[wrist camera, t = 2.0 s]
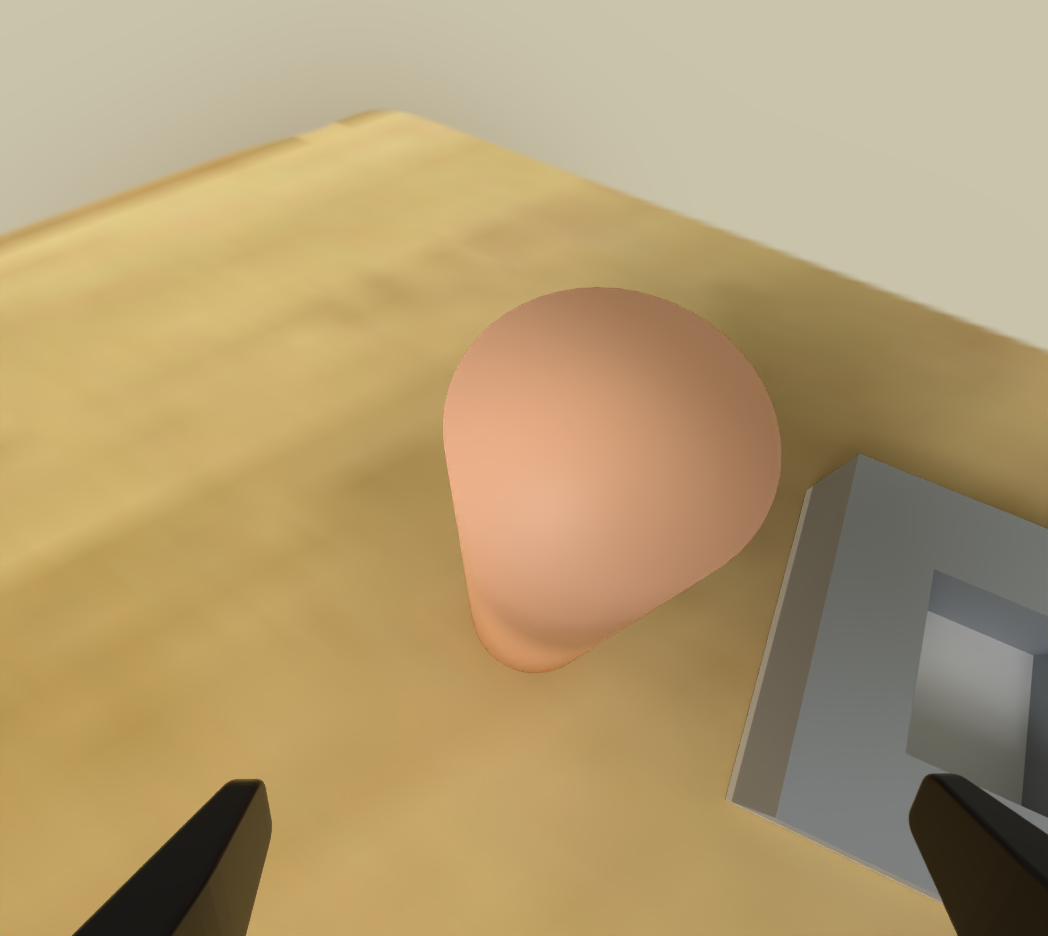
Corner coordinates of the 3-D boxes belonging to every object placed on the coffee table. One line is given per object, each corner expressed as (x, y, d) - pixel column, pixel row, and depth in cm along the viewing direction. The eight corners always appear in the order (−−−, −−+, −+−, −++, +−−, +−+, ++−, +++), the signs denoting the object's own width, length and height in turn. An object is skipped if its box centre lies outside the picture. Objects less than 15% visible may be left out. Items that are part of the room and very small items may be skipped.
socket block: (1097, 978, 17) (1237, 1038, 14) (725, 799, 18) (775, 817, 15) (1108, 614, 22) (1218, 597, 18) (806, 490, 23) (859, 453, 20)
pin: (503, 696, 19) (533, 659, 6) (451, 575, 21) (392, 347, 8) (619, 638, 20) (850, 504, 7) (562, 526, 22) (672, 251, 9)
